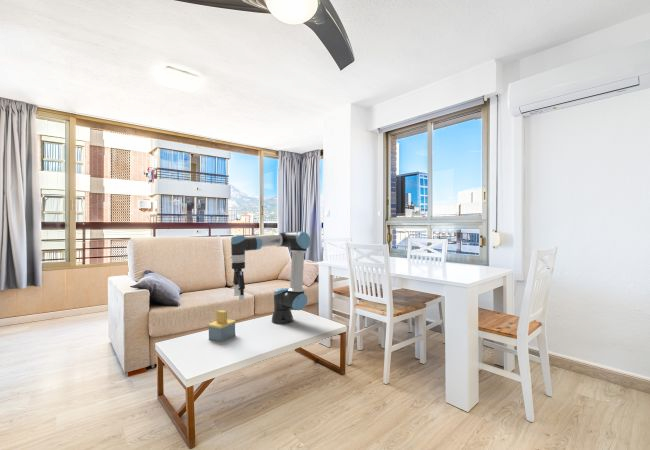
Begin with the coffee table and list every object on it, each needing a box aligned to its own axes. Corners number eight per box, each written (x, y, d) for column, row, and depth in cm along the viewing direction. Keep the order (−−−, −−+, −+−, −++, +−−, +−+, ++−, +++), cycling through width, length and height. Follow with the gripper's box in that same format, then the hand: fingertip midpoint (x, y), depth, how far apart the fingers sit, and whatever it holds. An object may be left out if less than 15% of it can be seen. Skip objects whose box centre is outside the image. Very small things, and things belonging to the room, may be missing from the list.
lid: (223, 321, 200) (223, 307, 200) (235, 324, 195) (235, 309, 195) (207, 327, 189) (207, 312, 189) (220, 330, 184) (220, 315, 184)
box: (223, 332, 199) (223, 320, 199) (235, 335, 195) (235, 322, 195) (208, 339, 189) (208, 326, 189) (220, 341, 184) (220, 328, 184)
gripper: (227, 260, 189) (228, 294, 189) (236, 264, 167) (237, 304, 167) (240, 259, 192) (240, 292, 193) (250, 263, 170) (250, 302, 171)
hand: (239, 298), depth 180 cm, fingers open, 13 cm apart
